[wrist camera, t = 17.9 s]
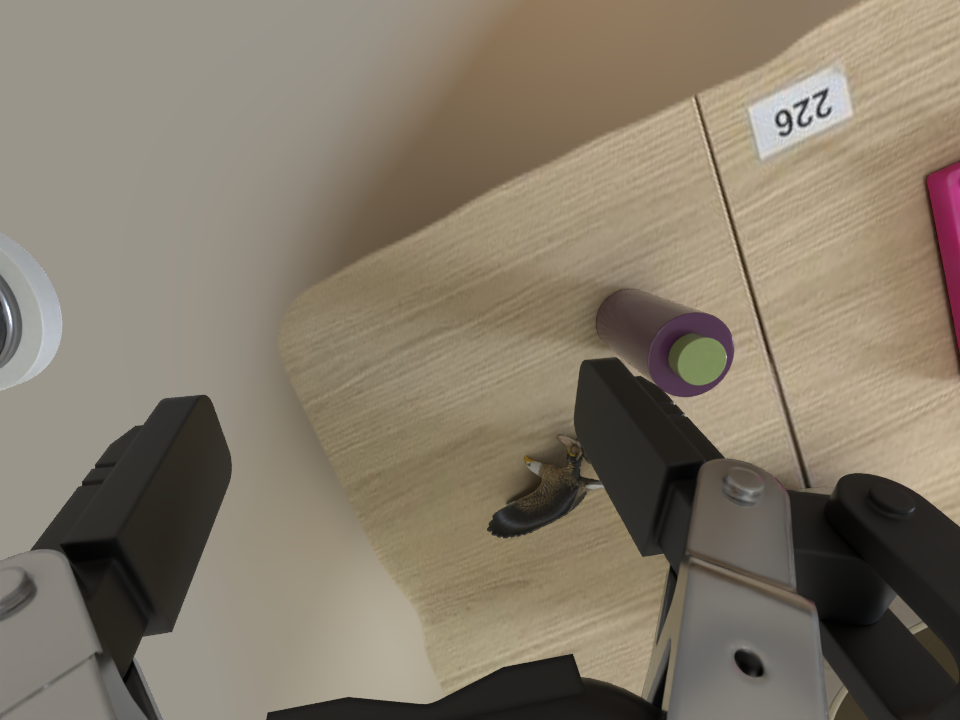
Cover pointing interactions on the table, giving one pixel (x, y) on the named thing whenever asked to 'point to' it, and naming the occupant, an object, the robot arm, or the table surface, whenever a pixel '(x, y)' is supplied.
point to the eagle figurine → (546, 495)
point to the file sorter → (948, 230)
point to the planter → (841, 705)
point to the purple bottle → (666, 341)
